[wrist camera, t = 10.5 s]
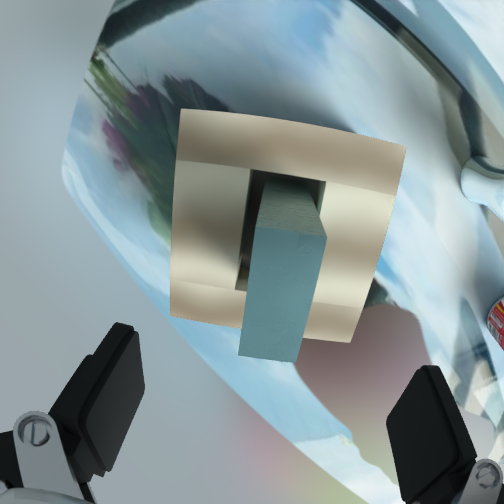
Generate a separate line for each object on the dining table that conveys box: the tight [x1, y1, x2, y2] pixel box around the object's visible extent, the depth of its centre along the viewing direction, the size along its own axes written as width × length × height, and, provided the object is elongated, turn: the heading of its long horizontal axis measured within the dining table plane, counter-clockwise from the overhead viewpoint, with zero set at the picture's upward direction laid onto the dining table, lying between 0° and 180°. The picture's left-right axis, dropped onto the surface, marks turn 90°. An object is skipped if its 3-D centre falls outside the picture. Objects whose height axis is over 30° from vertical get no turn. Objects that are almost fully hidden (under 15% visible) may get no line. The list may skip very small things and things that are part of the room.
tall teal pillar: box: [238, 176, 327, 363], centre depth 20 cm, size 7×3×12 cm, turn 173°
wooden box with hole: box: [170, 109, 406, 343], centre depth 28 cm, size 16×15×14 cm
